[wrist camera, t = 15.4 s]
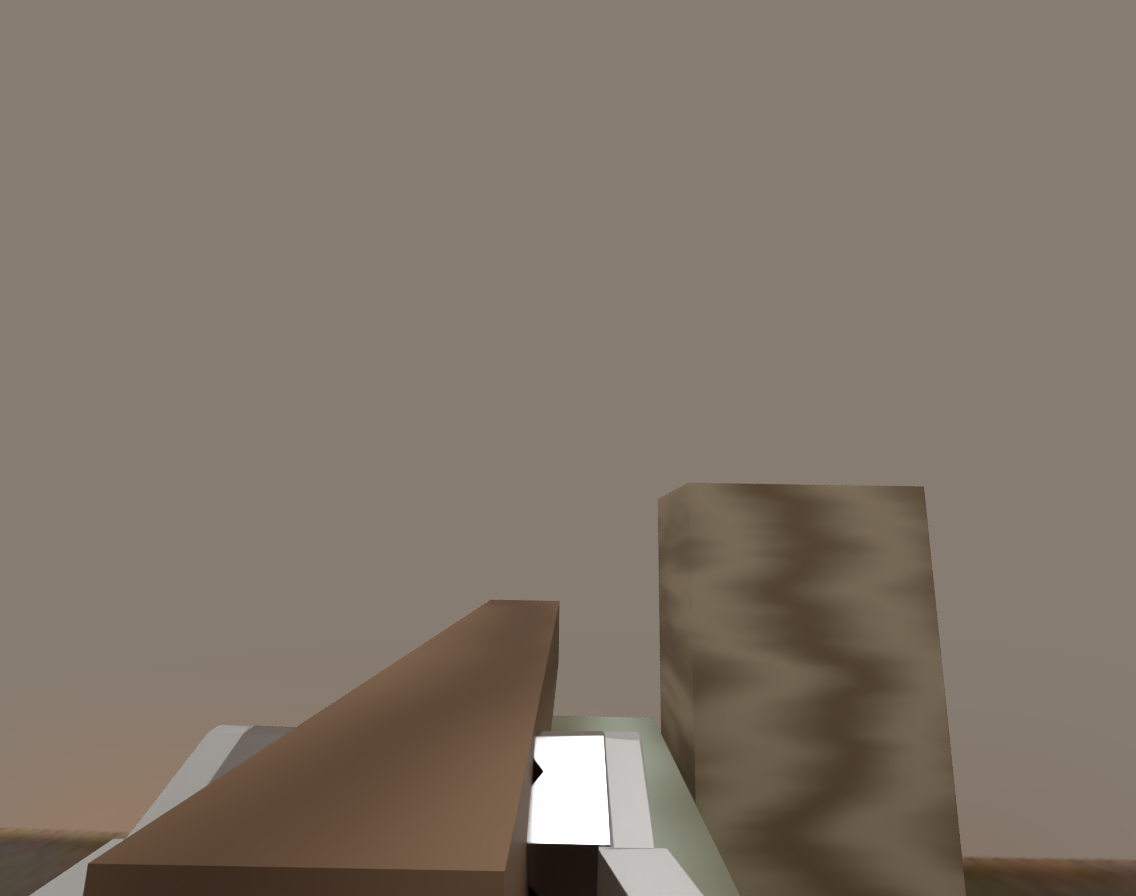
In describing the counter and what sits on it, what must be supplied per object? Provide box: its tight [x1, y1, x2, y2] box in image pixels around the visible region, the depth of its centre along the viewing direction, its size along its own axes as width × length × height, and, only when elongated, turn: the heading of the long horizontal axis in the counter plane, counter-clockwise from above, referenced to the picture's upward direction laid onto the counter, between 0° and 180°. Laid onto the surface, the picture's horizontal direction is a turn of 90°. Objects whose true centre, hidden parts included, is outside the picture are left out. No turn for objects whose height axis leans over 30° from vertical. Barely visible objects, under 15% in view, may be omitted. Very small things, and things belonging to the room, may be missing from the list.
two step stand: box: [551, 483, 966, 896], centre depth 19 cm, size 23×19×26 cm
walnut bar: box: [83, 600, 559, 896], centre depth 13 cm, size 3×20×2 cm, turn 0°
